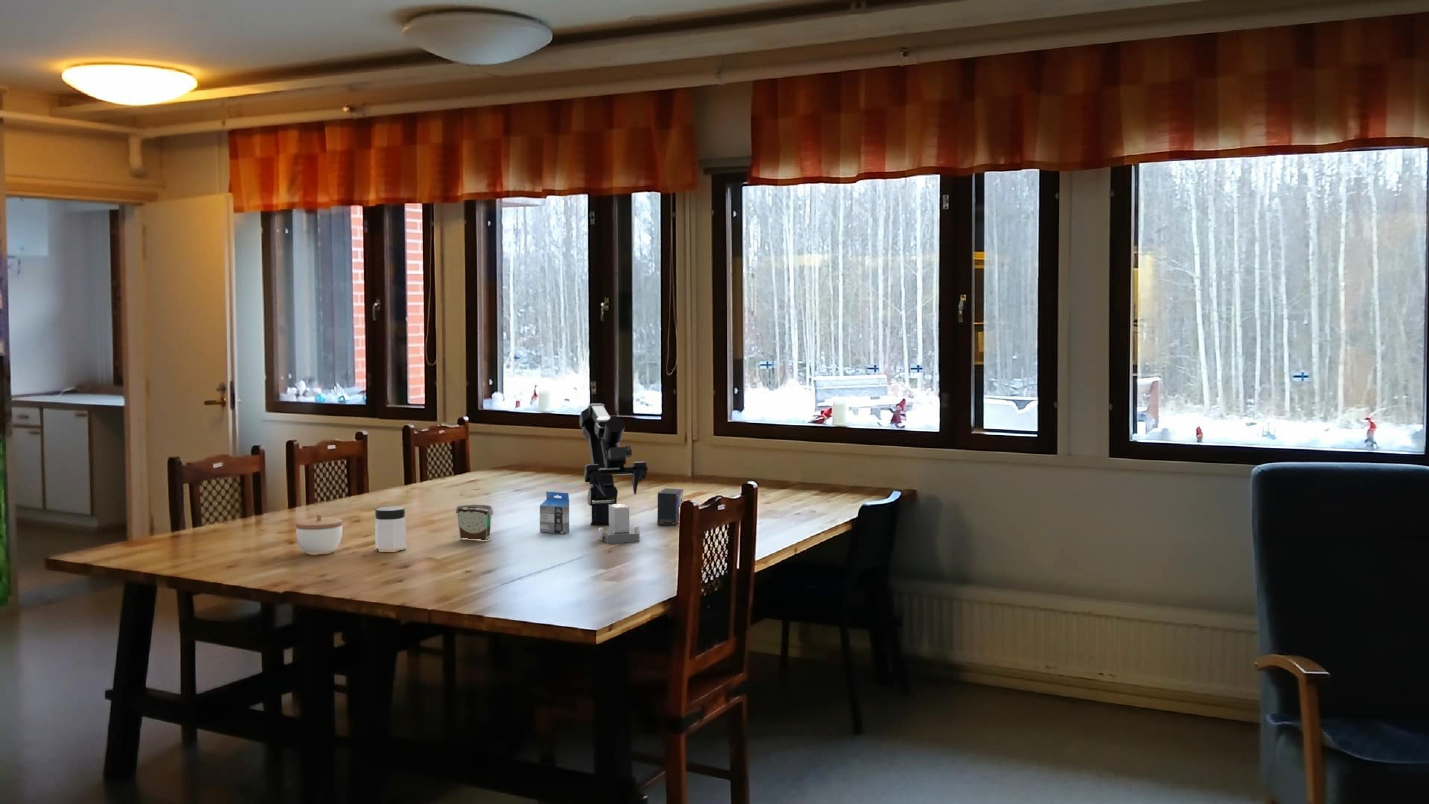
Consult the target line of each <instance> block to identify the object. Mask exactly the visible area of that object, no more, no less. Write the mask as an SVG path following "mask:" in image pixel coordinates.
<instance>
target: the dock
mask: <svg viewBox="0 0 1429 804" xmlns="http://www.w3.org/2000/svg"><path fill="white" fill-rule="evenodd" d="M633 527H634V531H633V530H632V529H629V533H625V534H609V533H608V534H607V533H606V532H605V531H604V528H603V527H598V528H597V538H598V541H604V542H605V543H606V544H607V545H608V544H620V543H621V544H623V542H628V543H639V542H640V538H641V533H640V532H641V527H640V525H634V526H633Z"/></svg>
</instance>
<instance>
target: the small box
mask: <svg viewBox="0 0 1429 804" xmlns="http://www.w3.org/2000/svg"><path fill="white" fill-rule="evenodd" d="M682 501H683V502H684V489H681V488H668V487H667V488H664V489H662V490H660V491H659V492H657V521H656V522H657V523H656V525H657V526H674V525H675V526H677V525H679V523H678V521H679V507H680V504H681V502H682ZM676 524H677V525H676Z"/></svg>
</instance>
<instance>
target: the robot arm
mask: <svg viewBox="0 0 1429 804" xmlns="http://www.w3.org/2000/svg"><path fill="white" fill-rule="evenodd" d="M617 416H618V415H610V414H609V413H608V411H607V410H606V406H605V404H603V403H590V404H588V406H587V408H585V409H584V410H582V411H581V412H580V415H579V428H581V431H582V435H583V436H584V437H585V438H586V439H587V441H588V447H589V453H590V460H591V461H590V462H591V464H586V465H585V467H584V472H583V479H584V482H585V483H589V484H590V485H589V487H588V491H587V498H586V499H587V505H588V506H589V507H591V522H590V525H591V526H593V525H595V526H596V525H598V526H602V525H604V526H605V525H606V526H607V525H608V526H609V504H618V503H617V501H618V494H619V493H618V492H619V490H618V488H617V486H616V485H615V482H614V476H627V475H631V477H632V480H631V482H632V488H633V490H632V491H633V494H634V495H637V490H638V486H639V485H638V484H639V482H642V481H643V480H645V479H646V478H647V473H648V470H649V466H648V463H647V462H646V461H633V464H632V467H630V466H627V467H625V465H626V464H627V460H626V459H627V458H631V457H632V455H633V449H632V445H628V444H627V445H625V446H621V442H622V440H623V437H624V436H623V435H624V432H625V427H626V426H625V425H626V424H625V422H624V421H623V420H622V419H621V418H618V417H617Z"/></svg>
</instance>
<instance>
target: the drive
mask: <svg viewBox="0 0 1429 804" xmlns="http://www.w3.org/2000/svg"><path fill="white" fill-rule="evenodd" d="M629 530H630V507H629V506H628V505H626V504H625V503H617V504H609V525H608V534H625V533H629Z"/></svg>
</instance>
